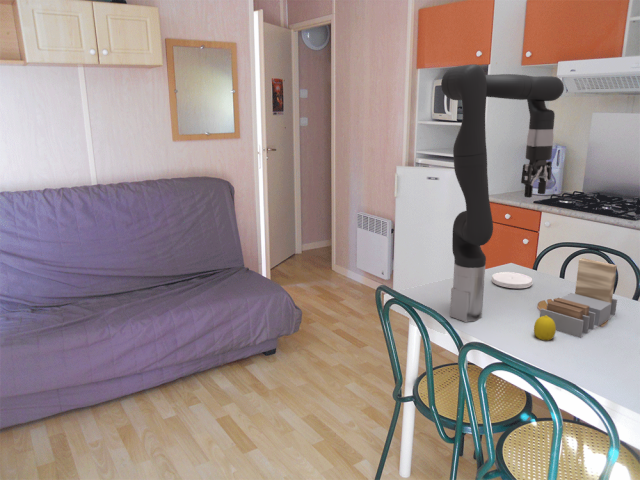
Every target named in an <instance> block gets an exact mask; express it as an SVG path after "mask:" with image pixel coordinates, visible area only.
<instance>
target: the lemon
mask: <svg viewBox="0 0 640 480" xmlns="http://www.w3.org/2000/svg"><path fill="white" fill-rule="evenodd" d="M556 331H557V330H556V327H555V322H554V321H553V319H551V318H550V317H548V316H547V315H545V316H542V317H540V316H539V317H538V318H537V319H536V321H535V322H534V325H533V332H534V336H535V337H536V338H537V339H538V340H542V341H551V340H552V339H553V338H554V337H555V335H556Z"/></svg>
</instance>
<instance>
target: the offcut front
mask: <svg viewBox="0 0 640 480" xmlns="http://www.w3.org/2000/svg"><path fill="white" fill-rule="evenodd" d="M547 305H548V307H547V306H546V310H549V311H552V312H556V313H559V314H563V315H566V316H569V317H573V318H576V319H580V320H582V318H583V309H579V308H576V307H572V306H569V305H565V304H561V303H558V302H554V300H551V301H549V302H547Z"/></svg>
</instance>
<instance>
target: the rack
mask: <svg viewBox="0 0 640 480" xmlns="http://www.w3.org/2000/svg"><path fill="white" fill-rule="evenodd" d="M560 298H561V299H565V300H569V301H573V302H576V303H580V304H584V305H587V306H589V314H588V316H585V315H583V318H582V320H580V319H576V318H573V317H569V316H566V315H563V314H559V313H556V312H552V311H549V310H547V307H548V304H547V306H546V309H545V308H540V309H539V311H540V312H539V317H542V316H545V315H547V316H548V317H550V318H551V319H553V321H554V322H555V327H556V331H557V332H560V333H563V334H566V335H569V336H572V337H577V338H579V339H582V338H583V337H585V336H586V335H588V334H589V333H591V332H592V331H594V330H596V329H597V328H598V327H599V326H601V325H603V324H604V323H605V322H607V321H608V320H610V319H612V318H613V317H615V316H616V311H617V305H618V299H616V298H613V297H612V303H609V302H605V301H601V300H597V299H593V298H589V297H586V296H582V295H578V294H575V292H574V293H573V292H569V293H568V294H566V295H564V296H562V297H560Z"/></svg>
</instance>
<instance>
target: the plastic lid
mask: <svg viewBox="0 0 640 480" xmlns="http://www.w3.org/2000/svg"><path fill="white" fill-rule="evenodd" d="M491 282H492V283H493V284H495V285H496V286H499V287H503V288H509V289H526V288H529V287H531V286H533V278H532V277H531V276H529V275H526V274H523V273H521V272H520V273H519V272H513V271H502V272H501V271H500V272H496V273H493V274H492V276H491Z"/></svg>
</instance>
